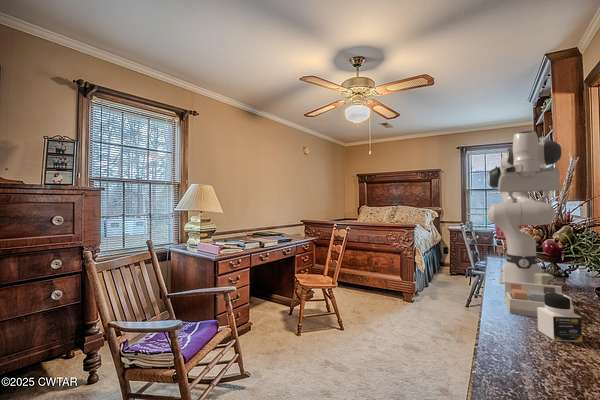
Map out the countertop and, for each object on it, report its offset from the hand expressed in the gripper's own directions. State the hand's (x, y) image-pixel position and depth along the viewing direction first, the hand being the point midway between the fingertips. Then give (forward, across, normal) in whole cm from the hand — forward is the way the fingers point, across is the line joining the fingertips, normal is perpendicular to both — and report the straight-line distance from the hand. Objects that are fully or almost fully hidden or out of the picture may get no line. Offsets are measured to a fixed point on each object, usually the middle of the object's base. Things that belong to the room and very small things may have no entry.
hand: (528, 202), depth 120 cm
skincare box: (+39, -4, -4) cm, 39 cm away
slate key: (+36, +1, +15) cm, 39 cm away
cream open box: (+40, +1, +13) cm, 42 cm away
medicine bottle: (+43, 0, +35) cm, 55 cm away
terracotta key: (+36, +6, +15) cm, 40 cm away
